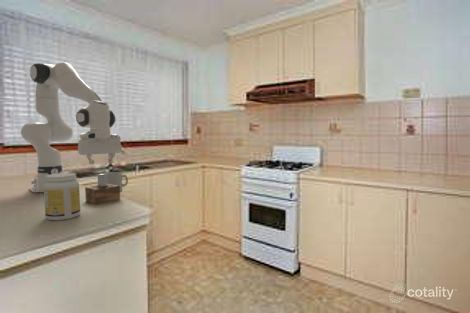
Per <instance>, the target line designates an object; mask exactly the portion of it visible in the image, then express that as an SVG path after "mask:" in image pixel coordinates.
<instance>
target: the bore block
mask: <svg viewBox="0 0 470 313" xmlns="http://www.w3.org/2000/svg"><path fill="white" fill-rule="evenodd" d="M84 191H85V202H86V203H90V204H92V205H93V204H94V205H99V204H100V203H101V204H105V202H106V203H110V202H109V201H111V202H114V201H113V200H116V201H118V200H117V199H120V200H121V192H120V186H118V185H113V184H107V187H102V188H98V184H97V185H91V186H84Z"/></svg>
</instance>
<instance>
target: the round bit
mask: <svg viewBox="0 0 470 313" xmlns="http://www.w3.org/2000/svg"><path fill="white" fill-rule="evenodd" d="M97 185H98V188H102V187H107V174H105V173H99V174H97Z"/></svg>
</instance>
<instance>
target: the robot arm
mask: <svg viewBox="0 0 470 313" xmlns="http://www.w3.org/2000/svg"><path fill="white" fill-rule="evenodd" d="M29 74H30V78H31V80H32V81H33V82H34V83H36V86H35V110H36V112H37V114H38V115H40V116H42V117H44V118H45V119H46V121H47V122H29V123H24V125H23V126H22V127H21V130H20V135H21V137H22V138H23V140H25V141H26V142H28V143H29V144H30V145H31V146H33V148H34V149H35V151H36V155H37V161H38V162H37V163H38V166H37V174H36V175H35V176H34V178H33V179H31V183H30V184H32V185H33V186H29V190H30V191H31V192H32V193H44V184H45V183H46V182H47V181H46V180H45V179H46V176H47V175H51V174H59V173H63V166H62V158H61V157H62V156H61V155H62V154H61V151H59V149H56V148H54V147H52V146H51V145H50V143H56V142H57V143H58V142H59V143H60V142H67V141H69V140H70V139H71V138H72V137H73V135H74V134H73V133H74V131H73V129H72V126H71V125H69V124H68V123H67V122H66V121H65V120H64V118H63V117H62V116H61V113H60V103H59V102H60V98H59V89H60V90H61V92H62V93H63V94H65V96H68V97H71V98H73V99H74V98H75V99H78V100H81V101H84V102H86V103H87V104H88V105H87V106H84V107H83V108H80V109H78V111H77V112H76V115H75V118H76V122H77V124H78V125H79V126H80V127H82V128H89V131H86V132H82V133H80V134H79V136H78V137H79V138H80V139H79V141H78V143H77V144H78V145H77V153H78V154H79V155H81V156H86V159H87V160H88V163H89V165H94V164H95V159H92V158H91V157H93V156H92V155H105V154H109V155H110V157H109V158H107V162H108V163H113V162H114V160H113V159H114V158H115V155H116V154H119V153H121V152H122V144H121V136H120V135H118V134H111V128H113V126H114V125H115V123H116V116H115V114H114V112H113V110H111V109H110V106H109V104H108V103H107V102H106V101H102V99H101V98H100V97H99V96H98V94H97V92H95V91H94V89H93V88H91V87H90V86H88V85H87V84H86V83H85V82H84V81H83V79H81V77H80V76H79V74H78V72H77V71H76V70H75V69H74V67H73V66H72V65H71V64H70V63H68V62H66V61H65V62H64V61H60V62H57V63H56V64H48V63H37V62H36V63H33V64H32V65H31V66H30V69H29Z"/></svg>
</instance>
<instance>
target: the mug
mask: <svg viewBox="0 0 470 313" xmlns="http://www.w3.org/2000/svg"><path fill="white" fill-rule="evenodd" d="M104 174H107V184H113V185H118V186H120V193H122V192H123V187H126V186H128V183H129V179H128V176H127V175H126V174H122V172H121V171H108V172H105V173H104ZM122 178H125V183H123V182H122V181H123V179H122Z"/></svg>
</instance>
